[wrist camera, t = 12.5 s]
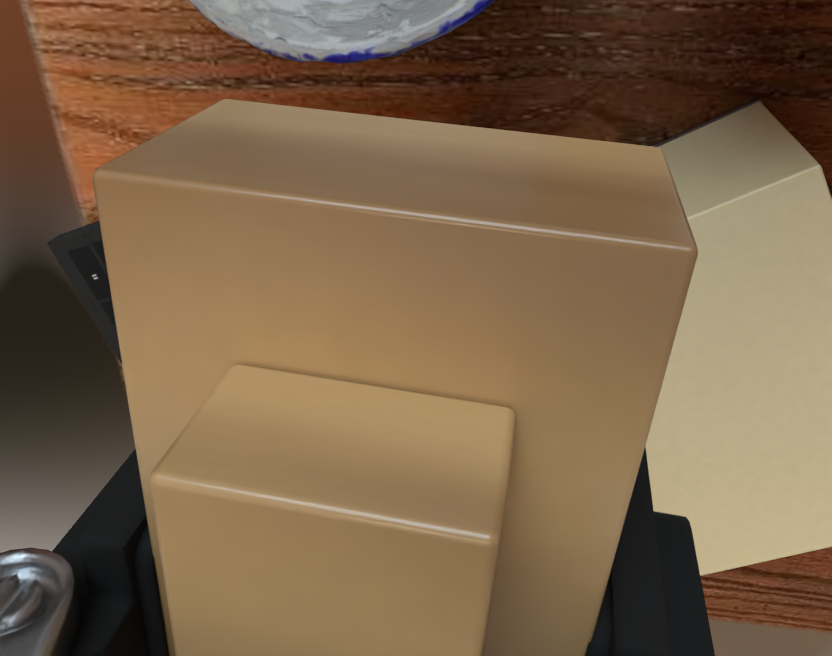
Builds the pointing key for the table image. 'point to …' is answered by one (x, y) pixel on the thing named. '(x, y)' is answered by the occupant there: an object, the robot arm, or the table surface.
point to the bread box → (749, 347)
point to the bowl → (338, 25)
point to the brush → (388, 375)
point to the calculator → (89, 275)
